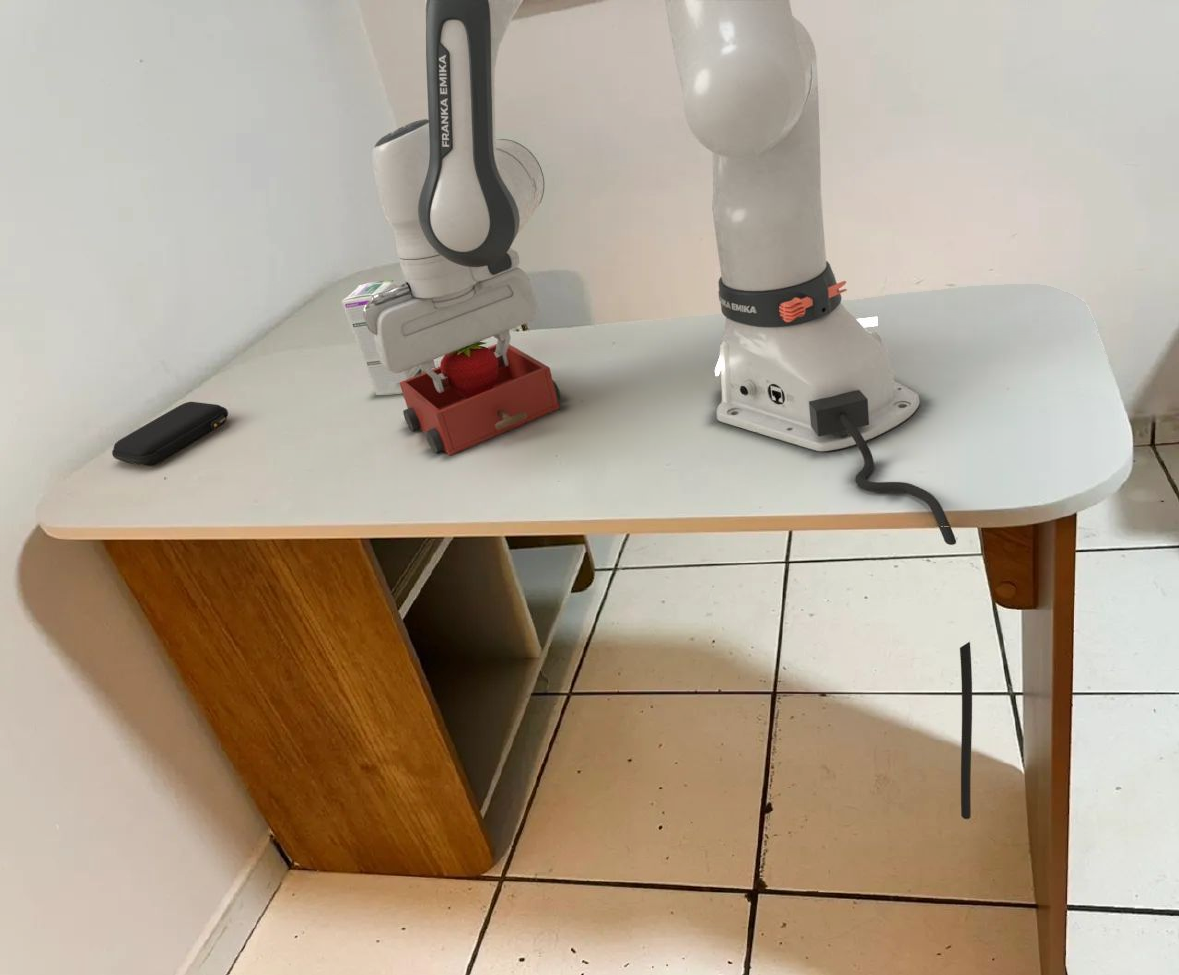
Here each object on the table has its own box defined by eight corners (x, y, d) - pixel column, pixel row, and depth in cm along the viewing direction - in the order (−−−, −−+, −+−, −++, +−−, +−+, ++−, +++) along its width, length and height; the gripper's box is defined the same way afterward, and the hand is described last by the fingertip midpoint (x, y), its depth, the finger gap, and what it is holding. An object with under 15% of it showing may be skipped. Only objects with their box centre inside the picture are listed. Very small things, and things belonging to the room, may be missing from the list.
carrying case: (157, 473, 123) (243, 420, 133) (147, 453, 122) (234, 401, 132) (111, 465, 129) (197, 414, 139) (101, 445, 127) (188, 396, 137)
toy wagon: (579, 413, 113) (569, 371, 110) (452, 469, 107) (438, 426, 104) (520, 376, 126) (510, 338, 124) (404, 424, 121) (391, 385, 118)
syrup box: (413, 393, 129) (380, 293, 122) (374, 396, 131) (340, 298, 123) (427, 374, 134) (396, 277, 126) (390, 378, 135) (357, 283, 128)
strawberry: (466, 394, 121) (444, 322, 116) (516, 393, 118) (497, 319, 113) (443, 415, 117) (420, 342, 112) (496, 416, 114) (474, 340, 109)
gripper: (366, 306, 103) (404, 417, 110) (529, 247, 110) (555, 355, 116) (350, 294, 108) (387, 401, 115) (507, 239, 115) (533, 343, 121)
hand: (473, 378), depth 116 cm, fingers closed on strawberry, 6 cm apart
